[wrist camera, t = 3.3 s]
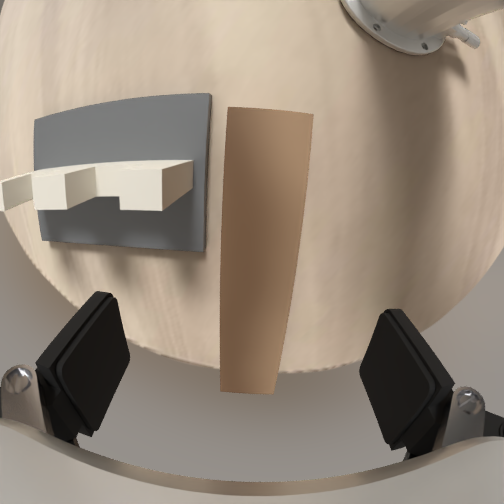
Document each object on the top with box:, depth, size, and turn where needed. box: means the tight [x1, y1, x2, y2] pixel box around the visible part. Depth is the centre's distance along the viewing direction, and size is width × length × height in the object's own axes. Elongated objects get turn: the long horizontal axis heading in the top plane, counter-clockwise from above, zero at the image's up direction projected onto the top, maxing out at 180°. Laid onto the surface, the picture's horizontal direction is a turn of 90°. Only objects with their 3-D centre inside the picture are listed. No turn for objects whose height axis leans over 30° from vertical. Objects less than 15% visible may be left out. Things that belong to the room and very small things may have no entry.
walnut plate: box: [220, 107, 313, 394], centre depth 18 cm, size 3×14×14 cm, turn 176°
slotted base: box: [0, 93, 212, 252], centre depth 18 cm, size 20×14×9 cm
